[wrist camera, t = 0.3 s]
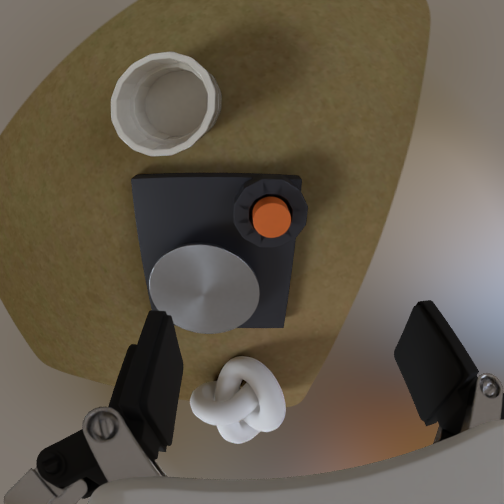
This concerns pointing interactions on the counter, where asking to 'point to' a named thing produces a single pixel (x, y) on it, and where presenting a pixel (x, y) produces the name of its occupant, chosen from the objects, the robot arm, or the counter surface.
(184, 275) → the brushed metal disc
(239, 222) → the scale
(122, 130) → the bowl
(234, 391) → the white knot sculpture
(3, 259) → the counter surface
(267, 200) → the tare button
